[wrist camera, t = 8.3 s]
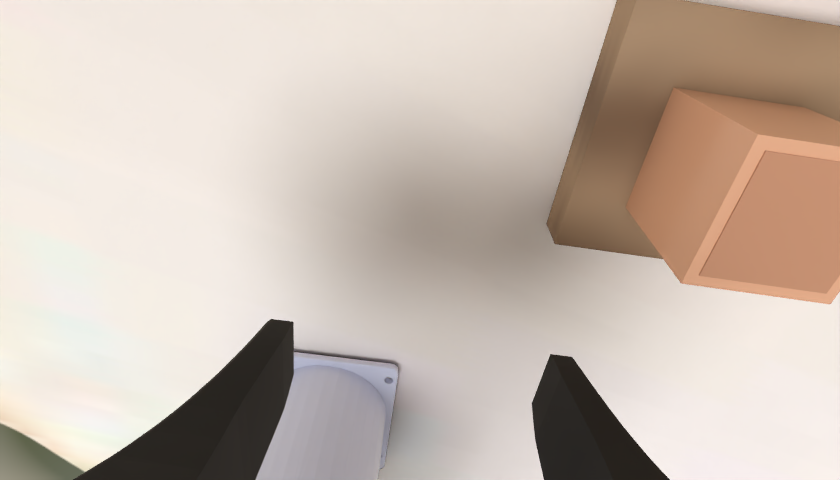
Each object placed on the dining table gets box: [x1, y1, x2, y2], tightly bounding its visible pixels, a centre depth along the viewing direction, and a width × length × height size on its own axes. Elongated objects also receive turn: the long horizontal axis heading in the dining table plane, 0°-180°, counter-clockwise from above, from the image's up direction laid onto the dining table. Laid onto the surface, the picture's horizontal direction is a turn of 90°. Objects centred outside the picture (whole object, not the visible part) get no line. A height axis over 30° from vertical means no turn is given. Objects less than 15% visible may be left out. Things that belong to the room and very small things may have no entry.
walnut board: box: [547, 0, 840, 259], centre depth 20 cm, size 10×10×2 cm
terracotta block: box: [626, 88, 840, 304], centre depth 16 cm, size 5×5×6 cm
